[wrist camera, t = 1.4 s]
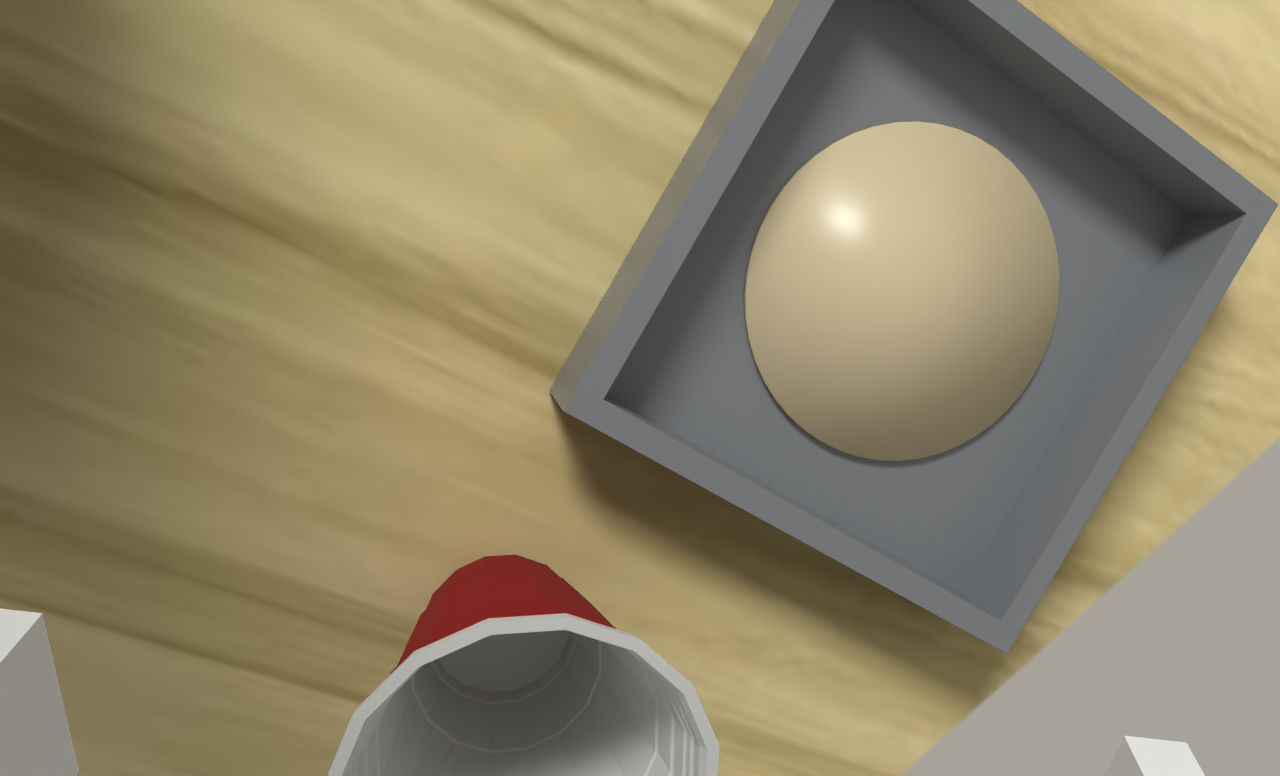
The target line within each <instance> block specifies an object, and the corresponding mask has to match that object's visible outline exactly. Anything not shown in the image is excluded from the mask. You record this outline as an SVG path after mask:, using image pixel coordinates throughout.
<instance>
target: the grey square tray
mask: <svg viewBox="0 0 1280 776" xmlns="http://www.w3.org/2000/svg"><path fill="white" fill-rule="evenodd" d="M1277 206H1278V204H1277V203H1276V202H1275V201H1273V200H1272V199H1271V198H1270V197H1268V196H1267V195H1266V194H1264V193H1263V192H1262V191H1261V190H1259V189H1258V188H1257V187H1255V186H1254V185H1253V184H1252V183H1250V182H1249V181H1248V180H1246V179H1245V178H1244V177H1243V176H1241V175H1240V174H1239V173H1237V172H1236V171H1235V170H1234V169H1232V168H1231V167H1230V166H1228V165H1227V164H1226V163H1225V162H1223V161H1222V160H1221V159H1219V158H1218V157H1217V156H1216V155H1214V154H1213V153H1212V152H1210V151H1209V150H1208V149H1207V148H1205V147H1204V146H1203V145H1201V144H1200V143H1199V142H1198V141H1196V140H1195V139H1194V138H1193V137H1191V136H1190V135H1189V134H1187V133H1186V132H1185V131H1184V130H1182V129H1181V128H1180V127H1178V126H1177V125H1176V124H1175V123H1173V122H1172V121H1171V120H1169V119H1168V118H1167V117H1166V116H1164V115H1163V114H1162V113H1160V112H1159V111H1158V110H1157V109H1155V108H1154V107H1153V106H1151V105H1150V104H1149V103H1148V102H1146V101H1145V100H1144V99H1142V98H1141V97H1140V96H1139V95H1137V94H1136V93H1135V92H1133V91H1132V90H1131V89H1130V88H1128V87H1127V86H1126V85H1124V84H1123V83H1122V82H1121V81H1119V80H1118V79H1117V78H1115V77H1114V76H1113V75H1112V74H1110V73H1109V72H1108V71H1106V70H1105V69H1104V68H1103V67H1101V66H1100V65H1099V64H1097V63H1096V62H1095V61H1094V60H1092V59H1091V58H1090V57H1088V56H1087V55H1086V54H1085V53H1083V52H1082V51H1081V50H1079V49H1078V48H1077V47H1076V46H1074V45H1073V44H1072V43H1071V42H1069V41H1068V40H1067V39H1065V38H1064V37H1063V36H1062V35H1060V34H1059V33H1058V32H1056V31H1055V30H1054V29H1053V28H1051V27H1050V26H1049V25H1047V24H1046V23H1045V22H1044V21H1042V20H1041V19H1040V18H1038V17H1037V16H1036V15H1035V14H1033V13H1032V12H1031V11H1029V10H1028V9H1027V8H1026V7H1024V6H1023V5H1022V4H1020V3H1019V2H1018V1H1017V0H775V1H774V2H773V4H772V6H771V8H770V9H769V11H768V13H767V15H766V16H765V18H764V20H763V21H762V23H761V25H760V27H759V28H758V30H757V32H756V34H755V35H754V37H753V39H752V41H751V42H750V44H749V46H748V47H747V49H746V51H745V53H744V54H743V56H742V58H741V60H740V61H739V63H738V65H737V67H736V68H735V70H734V72H733V73H732V75H731V77H730V79H729V80H728V82H727V84H726V86H725V87H724V89H723V91H722V93H721V94H720V96H719V98H718V99H717V101H716V103H715V105H714V106H713V108H712V110H711V112H710V113H709V115H708V117H707V119H706V120H705V122H704V124H703V125H702V127H701V129H700V131H699V132H698V134H697V136H696V138H695V139H694V141H693V143H692V145H691V146H690V148H689V150H688V152H687V153H686V155H685V157H684V158H683V160H682V162H681V164H680V165H679V167H678V169H677V171H676V172H675V174H674V176H673V178H672V179H671V181H670V183H669V184H668V186H667V188H666V190H665V191H664V193H663V195H662V197H661V198H660V200H659V202H658V204H657V205H656V207H655V209H654V210H653V212H652V214H651V216H650V217H649V219H648V221H647V223H646V224H645V226H644V228H643V230H642V231H641V233H640V235H639V236H638V238H637V240H636V242H635V243H634V245H633V247H632V249H631V250H630V252H629V254H628V256H627V257H626V259H625V261H624V262H623V264H622V266H621V268H620V269H619V271H618V273H617V275H616V276H615V278H614V280H613V282H612V283H611V285H610V287H609V288H608V290H607V292H606V294H605V295H604V297H603V299H602V301H601V302H600V304H599V306H598V308H597V309H596V311H595V313H594V315H593V316H592V318H591V320H590V321H589V323H588V325H587V327H586V328H585V330H584V332H583V334H582V335H581V337H580V339H579V341H578V342H577V344H576V346H575V347H574V349H573V351H572V353H571V354H570V356H569V358H568V360H567V361H566V363H565V365H564V367H563V368H562V370H561V372H560V373H559V375H558V377H557V379H556V380H555V382H554V384H553V386H552V387H551V389H550V391H549V392H550V393H551V395H552V396H553V398H554V399H555V400H556V402H557V403H558V405H559V406H560V407H561V409H562V410H563V411H564V412H566V413H568V414H569V415H571V416H573V417H575V418H577V419H579V420H580V421H582V422H584V423H586V424H588V425H590V426H591V427H593V428H595V429H597V430H599V431H601V432H602V433H604V434H606V435H608V436H610V437H612V438H613V439H615V440H617V441H619V442H621V443H622V444H624V445H626V446H628V447H630V448H632V449H633V450H635V451H637V452H639V453H641V454H643V455H644V456H646V457H648V458H650V459H652V460H654V461H655V462H657V463H659V464H661V465H663V466H665V467H666V468H668V469H670V470H672V471H674V472H675V473H677V474H679V475H681V476H683V477H685V478H686V479H688V480H690V481H692V482H694V483H696V484H697V485H699V486H701V487H703V488H705V489H707V490H708V491H710V492H712V493H714V494H716V495H718V496H719V497H721V498H723V499H725V500H727V501H728V502H730V503H732V504H734V505H736V506H738V507H739V508H741V509H743V510H745V511H747V512H749V513H750V514H752V515H754V516H756V517H758V518H760V519H761V520H763V521H765V522H767V523H769V524H771V525H772V526H774V527H776V528H778V529H780V530H781V531H783V532H785V533H787V534H789V535H791V536H792V537H794V538H796V539H798V540H800V541H802V542H803V543H805V544H807V545H809V546H811V547H813V548H814V549H816V550H818V551H820V552H822V553H824V554H825V555H827V556H829V557H831V558H833V559H835V560H836V561H838V562H840V563H842V564H844V565H845V566H847V567H849V568H851V569H853V570H855V571H856V572H858V573H860V574H862V575H864V576H866V577H867V578H869V579H871V580H873V581H875V582H877V583H878V584H880V585H882V586H884V587H886V588H888V589H889V590H891V591H893V592H895V593H897V594H898V595H900V596H902V597H904V598H906V599H908V600H909V601H911V602H913V603H915V604H917V605H919V606H920V607H922V608H924V609H926V610H928V611H930V612H931V613H933V614H935V615H937V616H939V617H941V618H942V619H944V620H946V621H948V622H950V623H951V624H953V625H955V626H957V627H959V628H961V629H962V630H964V631H966V632H968V633H970V634H972V635H973V636H975V637H977V638H979V639H981V640H983V641H984V642H986V643H988V644H990V645H992V646H994V647H995V648H997V649H999V650H1001V651H1003V652H1004V653H1006V654H1007V653H1008V652H1009V650H1010V648H1011V647H1012V645H1013V643H1014V642H1015V640H1016V638H1017V637H1018V635H1019V633H1020V632H1021V630H1022V628H1023V627H1024V625H1025V623H1026V622H1027V620H1028V619H1029V617H1030V615H1031V614H1032V612H1033V610H1034V609H1035V607H1036V605H1037V604H1038V602H1039V600H1040V599H1041V597H1042V595H1043V594H1044V592H1045V590H1046V589H1047V587H1048V585H1049V584H1050V582H1051V580H1052V579H1053V577H1054V575H1055V574H1056V572H1057V570H1058V569H1059V567H1060V565H1061V564H1062V562H1063V560H1064V559H1065V557H1066V556H1067V554H1068V552H1069V551H1070V549H1071V547H1072V546H1073V544H1074V542H1075V541H1076V539H1077V537H1078V536H1079V534H1080V532H1081V531H1082V529H1083V527H1084V526H1085V524H1086V522H1087V521H1088V519H1089V517H1090V516H1091V514H1092V512H1093V511H1094V509H1095V507H1096V506H1097V504H1098V502H1099V501H1100V499H1101V498H1102V496H1103V494H1104V493H1105V491H1106V489H1107V488H1108V486H1109V484H1110V483H1111V481H1112V479H1113V478H1114V476H1115V474H1116V473H1117V471H1118V469H1119V468H1120V466H1121V464H1122V463H1123V461H1124V459H1125V458H1126V456H1127V454H1128V453H1129V451H1130V449H1131V448H1132V446H1133V444H1134V443H1135V441H1136V439H1137V438H1138V436H1139V435H1140V433H1141V431H1142V430H1143V428H1144V426H1145V425H1146V423H1147V421H1148V420H1149V418H1150V416H1151V415H1152V413H1153V411H1154V410H1155V408H1156V406H1157V405H1158V403H1159V401H1160V400H1161V398H1162V396H1163V395H1164V393H1165V391H1166V390H1167V388H1168V386H1169V385H1170V383H1171V381H1172V380H1173V378H1174V377H1175V375H1176V373H1177V372H1178V370H1179V368H1180V367H1181V365H1182V363H1183V362H1184V360H1185V358H1186V357H1187V355H1188V353H1189V352H1190V350H1191V348H1192V347H1193V345H1194V343H1195V342H1196V340H1197V338H1198V337H1199V335H1200V333H1201V332H1202V330H1203V328H1204V327H1205V325H1206V323H1207V322H1208V320H1209V318H1210V317H1211V315H1212V314H1213V312H1214V310H1215V309H1216V307H1217V305H1218V304H1219V302H1220V300H1221V299H1222V297H1223V295H1224V294H1225V292H1226V290H1227V289H1228V287H1229V285H1230V284H1231V282H1232V280H1233V279H1234V277H1235V275H1236V274H1237V272H1238V270H1239V269H1240V267H1241V265H1242V264H1243V262H1244V260H1245V259H1246V257H1247V256H1248V254H1249V252H1250V251H1251V249H1252V247H1253V246H1254V244H1255V242H1256V241H1257V239H1258V237H1259V236H1260V234H1261V232H1262V231H1263V229H1264V227H1265V226H1266V224H1267V222H1268V221H1269V219H1270V217H1271V216H1272V214H1273V212H1274V211H1275V209H1276V207H1277Z"/></svg>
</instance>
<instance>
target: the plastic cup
mask: <svg viewBox="0 0 1280 776" xmlns="http://www.w3.org/2000/svg"><path fill="white" fill-rule="evenodd" d="M718 765H719V744H718V742H717V739H716V737H715V735H714V732H713V730H712V727H711V725H710V723H709V720H708V718H707V716H706V713H705V711H704V709H703V706H702V704H701V701H700V699H699V697H698V694H697V692H696V690H695V687H694V685H692V684H691V683H690V682H689V681H688V680H687V679H686V678H684V677H683V676H682V675H681V674H680V673H679V672H678V671H676V670H675V669H674V668H673V667H672V666H671V665H670V664H669V663H667V662H666V661H665V660H664V659H663V658H662V657H661V656H659V655H658V654H657V653H656V652H655V651H654V650H653V649H651V648H650V647H649V646H648V645H647V644H646V643H645V642H643V641H642V640H641V639H640V638H639V637H637V636H636V635H633V634H630V633H627V632H624V631H621V630H617V629H616V628H615V627H613V626H612V625H611V624H610V622H609V621H608V620H607V619H606V618H605V617H604V616H603V615H602V614H601V613H600V612H599V611H598V610H597V609H596V608H595V607H594V606H593V605H592V604H591V603H590V602H589V601H588V600H586V599H585V598H584V597H583V596H582V595H581V594H580V593H579V592H577V591H576V590H575V589H574V588H573V587H572V586H571V585H570V584H568V583H567V582H566V581H565V580H564V579H563V578H560V577H559V576H558V575H557V574H556V573H555V572H554V571H552V570H551V569H550V568H549V567H548V566H547V565H545V564H542V563H539V562H536V561H533V560H530V559H527V558H524V557H521V556H518V555H504V556H487V557H484V558H481V559H479V560H477V561H475V562H473V563H470V564H468V565H466V566H464V567H462V568H459V569H458V570H456V571H455V572H454V573H453V574H452V575H451V576H450V577H449V578H448V579H447V580H446V581H445V582H444V583H443V584H442V585H441V586H440V587H439V588H438V589H437V590H436V591H435V592H434V593H433V595H432V597H431V600H430V602H429V604H428V607H427V609H426V610H425V611H424V612H423V613H422V614H421V616H420V618H419V620H418V622H417V624H416V626H415V629H414V631H413V633H412V635H411V637H410V639H409V642H408V644H407V646H406V648H405V650H404V652H403V655H402V657H401V659H400V661H399V663H398V665H397V667H396V668H395V669H394V670H393V671H392V672H391V674H390V676H389V677H388V678H387V679H386V680H385V681H384V682H383V683H381V684H380V685H379V686H378V687H377V688H376V689H375V690H374V691H373V692H372V693H371V694H370V695H369V696H368V697H367V698H366V699H365V700H364V701H363V702H362V703H361V704H360V705H359V706H358V708H357V709H356V710H355V712H354V713H353V715H352V717H351V720H350V722H349V724H348V727H347V729H346V732H345V734H344V737H343V739H342V741H341V744H340V746H339V749H338V751H337V753H336V756H335V758H334V761H333V763H332V766H331V768H330V770H329V773H328V775H327V776H718Z"/></svg>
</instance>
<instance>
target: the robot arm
mask: <svg viewBox="0 0 1280 776" xmlns="http://www.w3.org/2000/svg"><path fill="white" fill-rule="evenodd" d="M78 773H79V767H78V763H77V759H76V755H75V750H74V746H73V742H72V737H71V733H70V729H69V725H68V720H67V716H66V712H65V707H64V703H63V699H62V695H61V690H60V686H59V682H58V678H57V673H56V669H55V665H54V660H53V656H52V652H51V648H50V643H49V639H48V635H47V630H46V626H45V622H44V618H43V613H35V612H26V611H18V610H9V609H0V776H77V775H78ZM1105 776H1205V775H1204V774H1203V772H1202V770H1201V768H1200V766H1199V765H1198V763H1197V761H1196V759H1195V757H1194V755H1193V754H1192V752H1191V750H1190V748H1189V747H1188V745H1187V743H1184V742H1175V741H1166V740H1157V739H1147V738H1139V737H1131V736H1124V737H1123V739H1122V741H1121V743H1120V746H1119V748H1118V750H1117V752H1116V754H1115V756H1114V758H1113V760H1112V762H1111V764H1110V766H1109V768H1108V770H1107V773H1106V775H1105Z"/></svg>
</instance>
